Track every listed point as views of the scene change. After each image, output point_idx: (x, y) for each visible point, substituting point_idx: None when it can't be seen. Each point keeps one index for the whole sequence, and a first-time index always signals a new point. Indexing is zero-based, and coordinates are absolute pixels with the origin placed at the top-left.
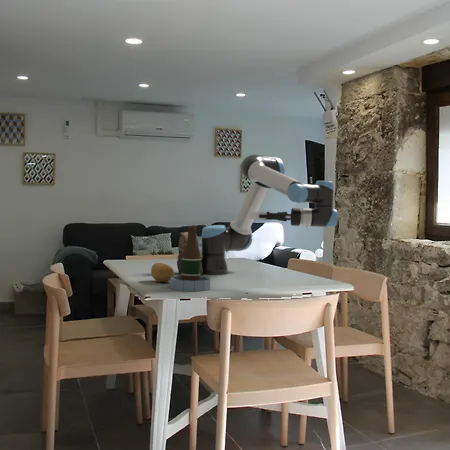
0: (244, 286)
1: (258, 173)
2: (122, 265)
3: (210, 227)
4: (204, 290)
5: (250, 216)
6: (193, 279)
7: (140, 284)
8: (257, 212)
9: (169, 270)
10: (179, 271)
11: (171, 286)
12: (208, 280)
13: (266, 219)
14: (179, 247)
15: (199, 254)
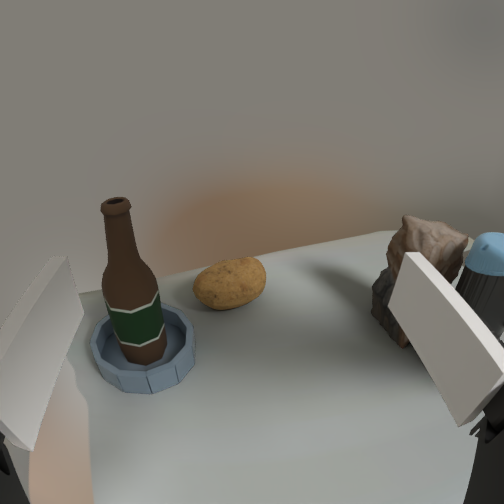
0: (209, 488)
1: None
2: None
3: (491, 240)
4: (105, 379)
5: (393, 296)
6: (118, 341)
7: (185, 278)
8: (446, 304)
9: (197, 288)
10: (372, 304)
11: None
12: (111, 372)
13: (14, 445)
14: (388, 251)
15: (114, 296)
